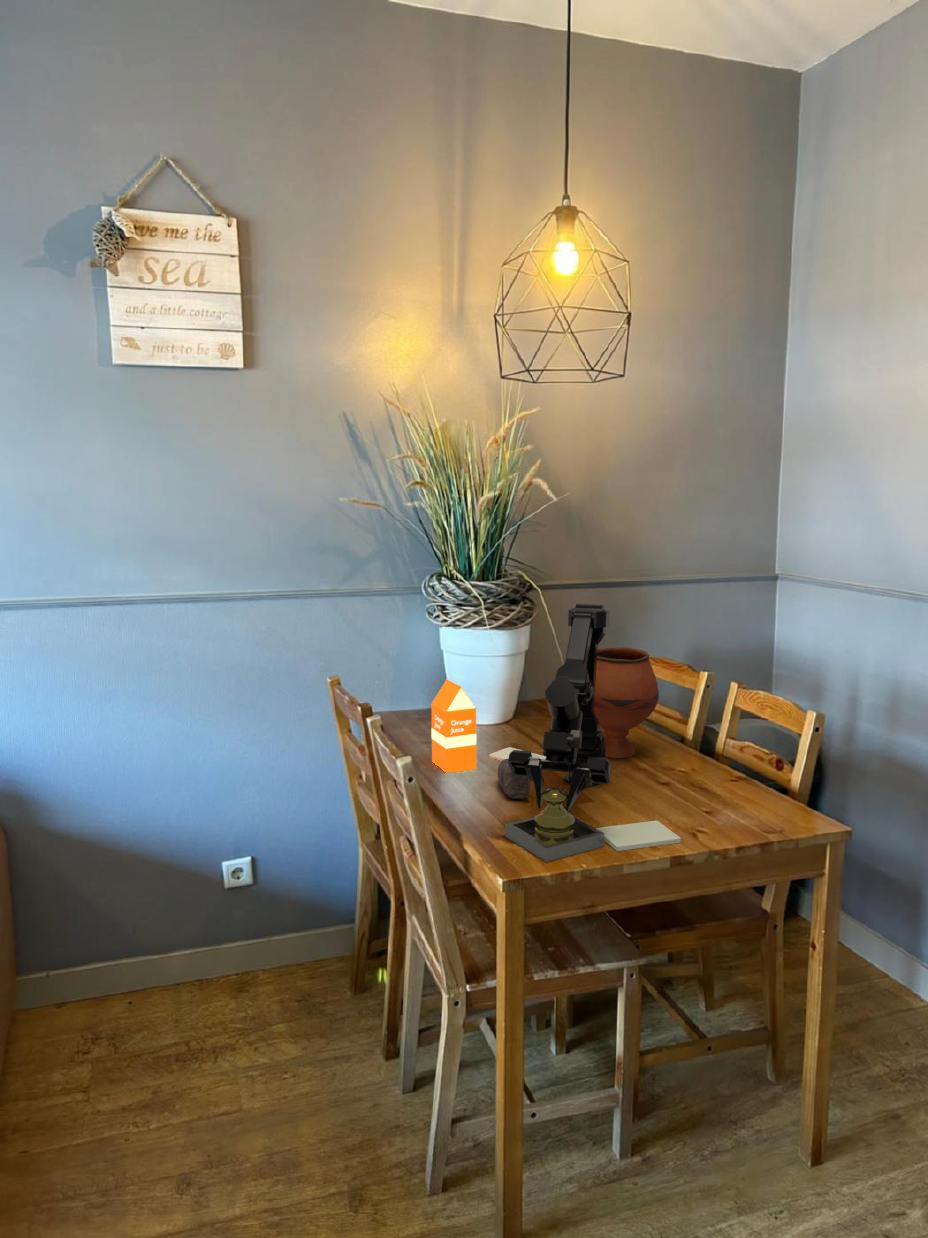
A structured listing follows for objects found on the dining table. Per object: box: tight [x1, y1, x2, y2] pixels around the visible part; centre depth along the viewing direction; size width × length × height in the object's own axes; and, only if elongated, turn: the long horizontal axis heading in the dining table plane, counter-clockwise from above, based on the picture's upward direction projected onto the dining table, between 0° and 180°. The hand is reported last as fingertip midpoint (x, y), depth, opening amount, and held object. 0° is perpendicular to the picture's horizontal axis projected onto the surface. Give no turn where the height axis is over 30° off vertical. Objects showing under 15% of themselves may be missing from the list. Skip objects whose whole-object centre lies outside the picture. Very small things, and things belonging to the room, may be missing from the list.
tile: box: [594, 820, 682, 852], centre depth 165 cm, size 13×9×1 cm
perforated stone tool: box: [497, 759, 531, 800], centre depth 188 cm, size 15×5×7 cm, turn 10°
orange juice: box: [430, 678, 477, 774], centre depth 204 cm, size 8×9×20 cm
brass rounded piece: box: [534, 786, 575, 845], centre depth 162 cm, size 7×7×10 cm
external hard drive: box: [488, 746, 546, 762], centre depth 211 cm, size 2×8×12 cm
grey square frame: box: [504, 816, 605, 863], centre depth 163 cm, size 13×13×2 cm
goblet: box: [594, 647, 660, 759], centre depth 213 cm, size 19×19×25 cm
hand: (553, 809), depth 161 cm, fingers closed on brass rounded piece, 5 cm apart
